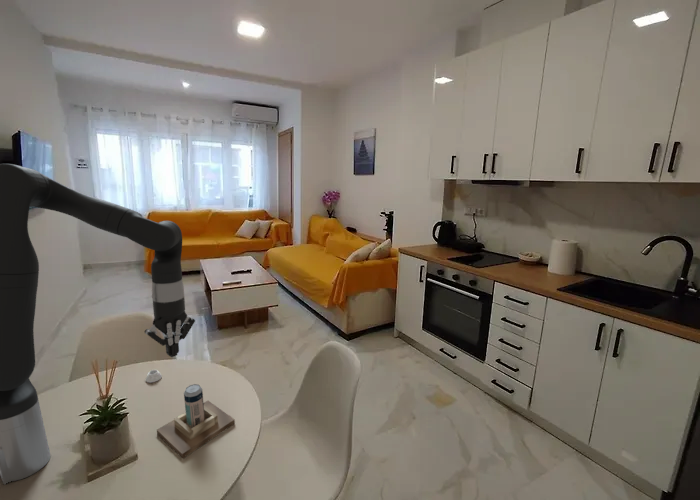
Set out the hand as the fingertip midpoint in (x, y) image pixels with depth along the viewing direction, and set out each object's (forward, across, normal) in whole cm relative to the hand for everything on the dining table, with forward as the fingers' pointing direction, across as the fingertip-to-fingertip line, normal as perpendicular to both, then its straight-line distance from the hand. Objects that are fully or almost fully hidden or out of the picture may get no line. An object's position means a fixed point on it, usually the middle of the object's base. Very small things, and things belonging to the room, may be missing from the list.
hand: (173, 355), depth 94 cm
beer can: (+22, +4, -4) cm, 23 cm away
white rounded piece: (+24, +6, +31) cm, 40 cm away
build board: (+24, +4, -4) cm, 24 cm away
